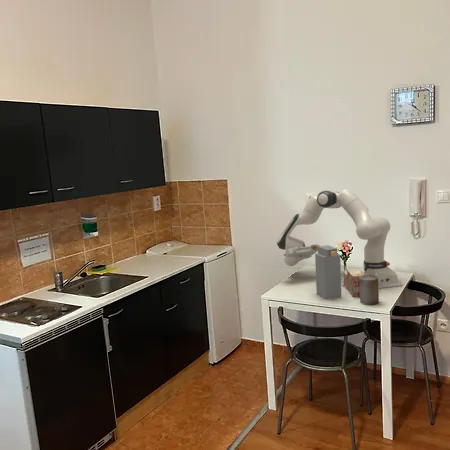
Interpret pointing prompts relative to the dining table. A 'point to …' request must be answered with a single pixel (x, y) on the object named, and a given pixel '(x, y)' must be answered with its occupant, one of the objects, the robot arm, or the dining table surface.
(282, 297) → the dining table surface
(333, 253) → the oak bar
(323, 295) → the slate-grey stand
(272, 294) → the dining table surface
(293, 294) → the dining table surface
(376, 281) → the pillar candle
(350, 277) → the stack of blocks
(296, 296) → the dining table surface
